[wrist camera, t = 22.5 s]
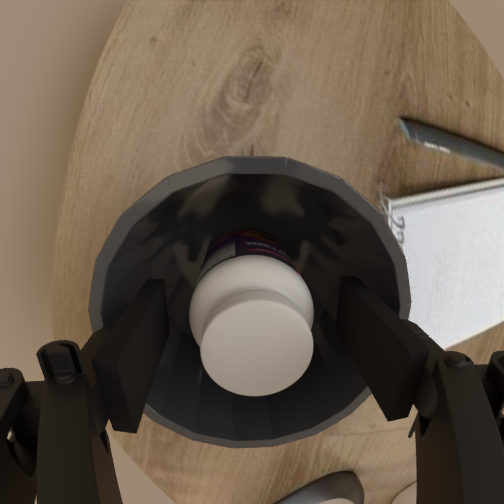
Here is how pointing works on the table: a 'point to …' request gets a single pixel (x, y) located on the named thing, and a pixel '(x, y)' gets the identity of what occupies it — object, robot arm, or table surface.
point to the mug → (407, 495)
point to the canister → (303, 258)
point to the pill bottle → (252, 315)
